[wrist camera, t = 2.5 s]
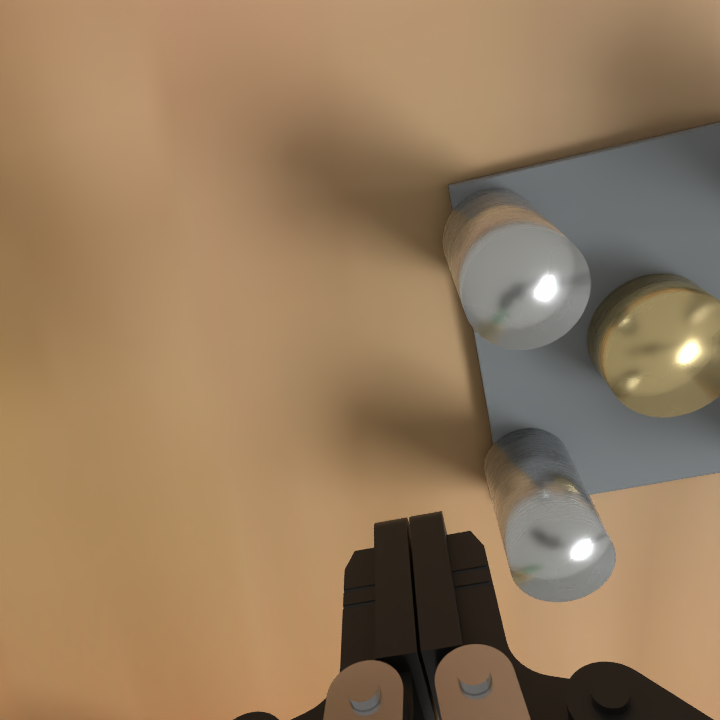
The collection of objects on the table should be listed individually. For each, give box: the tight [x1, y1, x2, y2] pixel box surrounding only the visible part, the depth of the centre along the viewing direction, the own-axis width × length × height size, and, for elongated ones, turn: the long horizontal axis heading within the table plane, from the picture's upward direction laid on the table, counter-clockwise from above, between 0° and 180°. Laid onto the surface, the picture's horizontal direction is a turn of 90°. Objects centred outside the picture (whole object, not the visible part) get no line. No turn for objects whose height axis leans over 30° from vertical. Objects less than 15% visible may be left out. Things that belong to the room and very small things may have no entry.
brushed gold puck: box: [587, 273, 720, 417], centre depth 20 cm, size 4×4×2 cm
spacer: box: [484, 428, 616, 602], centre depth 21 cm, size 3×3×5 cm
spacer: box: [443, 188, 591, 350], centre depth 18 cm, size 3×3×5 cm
